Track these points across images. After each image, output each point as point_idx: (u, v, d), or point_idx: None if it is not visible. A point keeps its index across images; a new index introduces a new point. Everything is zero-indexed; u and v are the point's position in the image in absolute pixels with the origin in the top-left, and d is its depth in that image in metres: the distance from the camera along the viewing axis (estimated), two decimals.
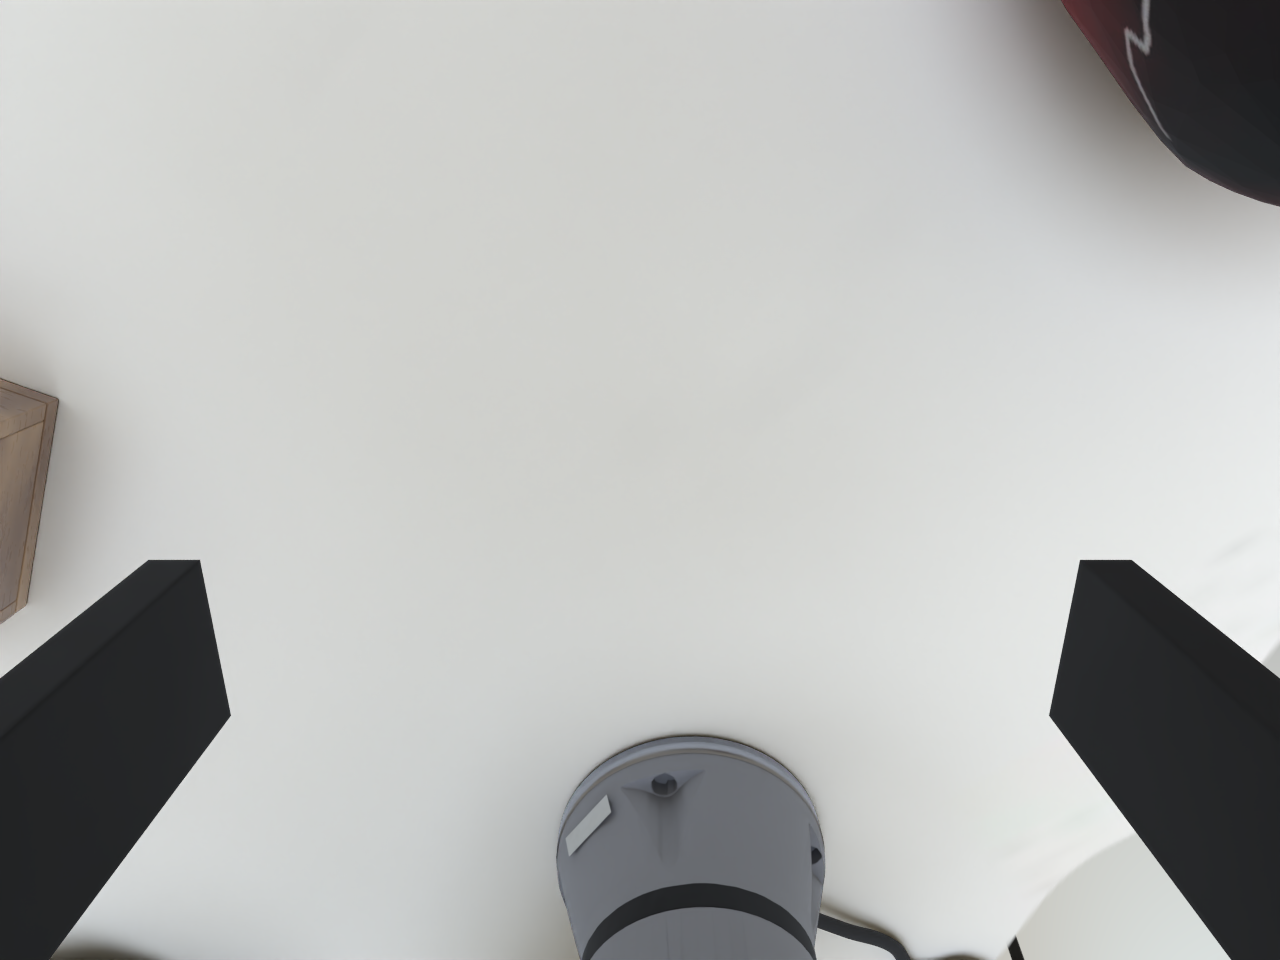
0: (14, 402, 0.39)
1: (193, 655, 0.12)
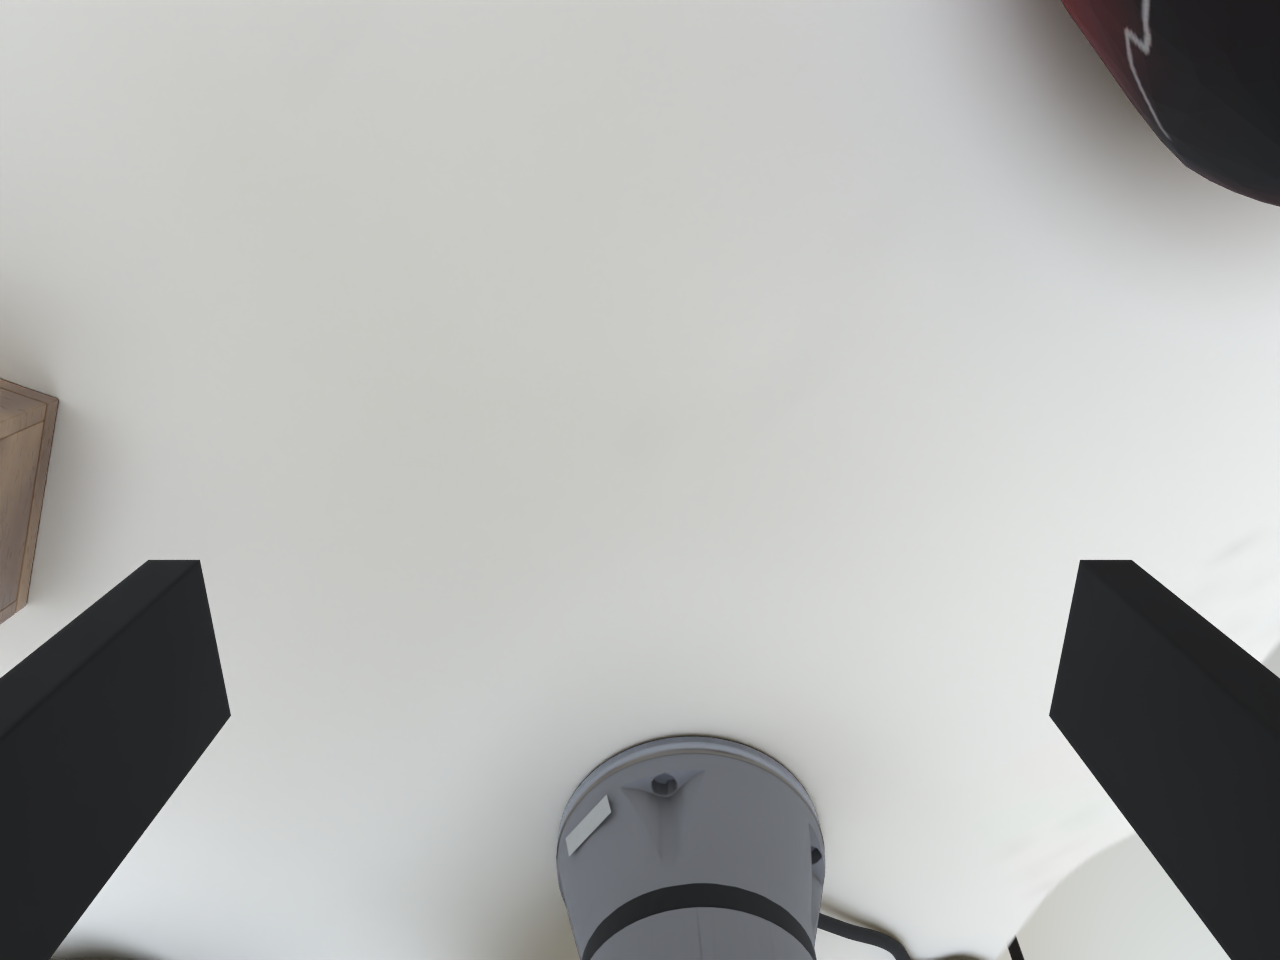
0: (14, 402, 0.39)
1: (193, 655, 0.12)
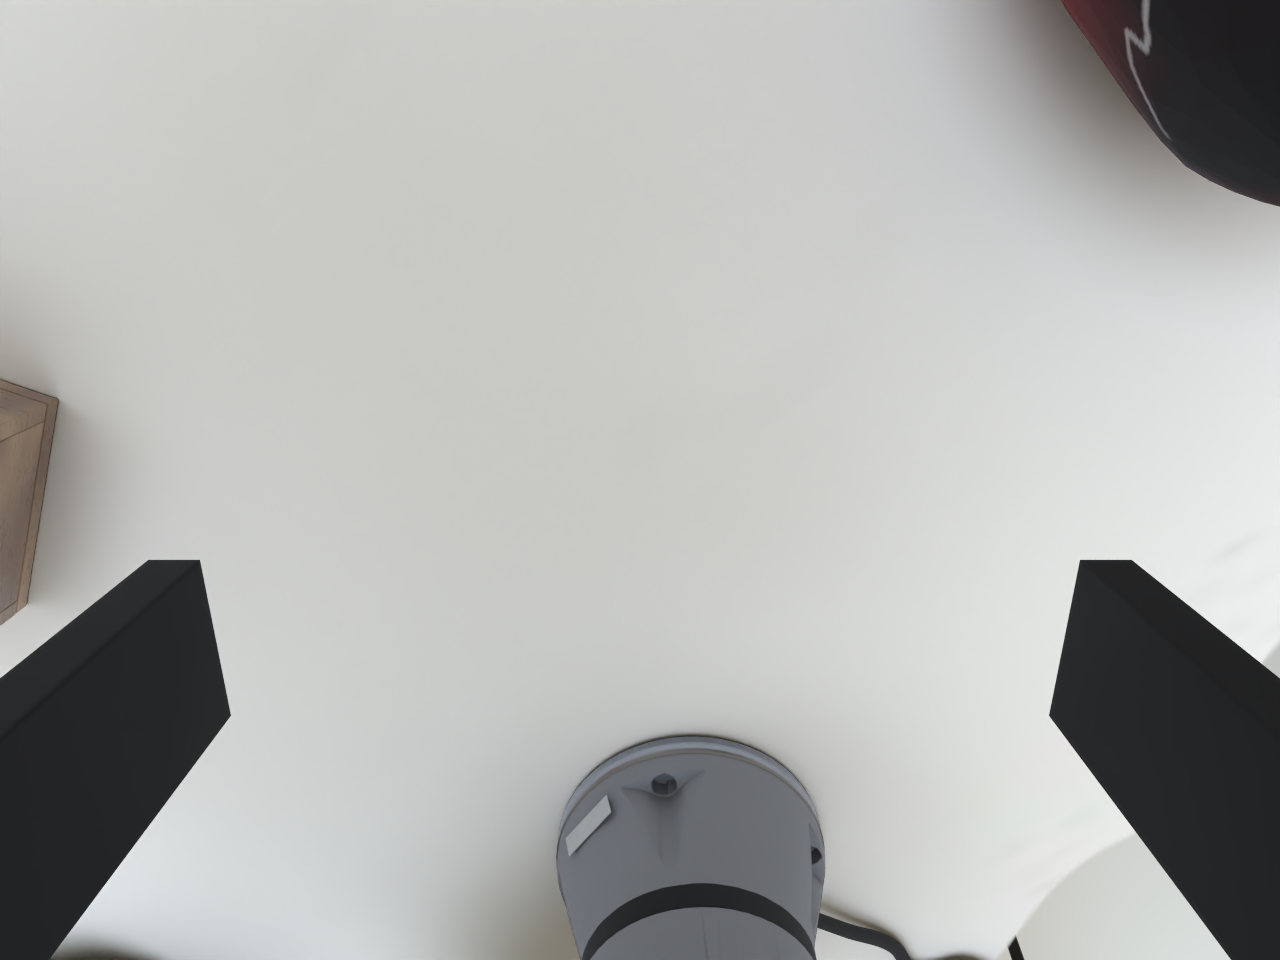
0: (15, 403, 0.39)
1: (193, 655, 0.12)
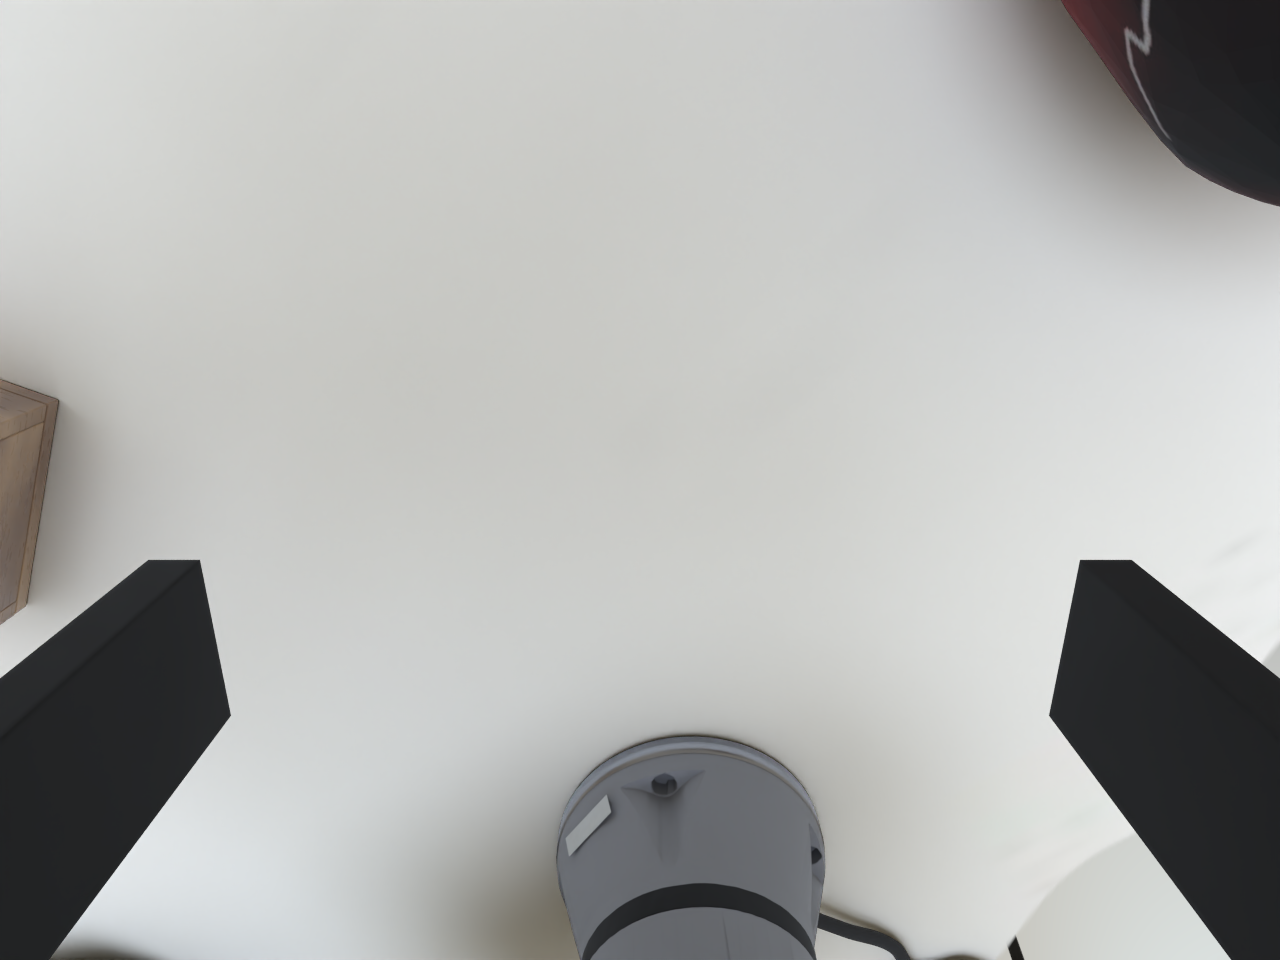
0: (14, 403, 0.39)
1: (193, 655, 0.12)
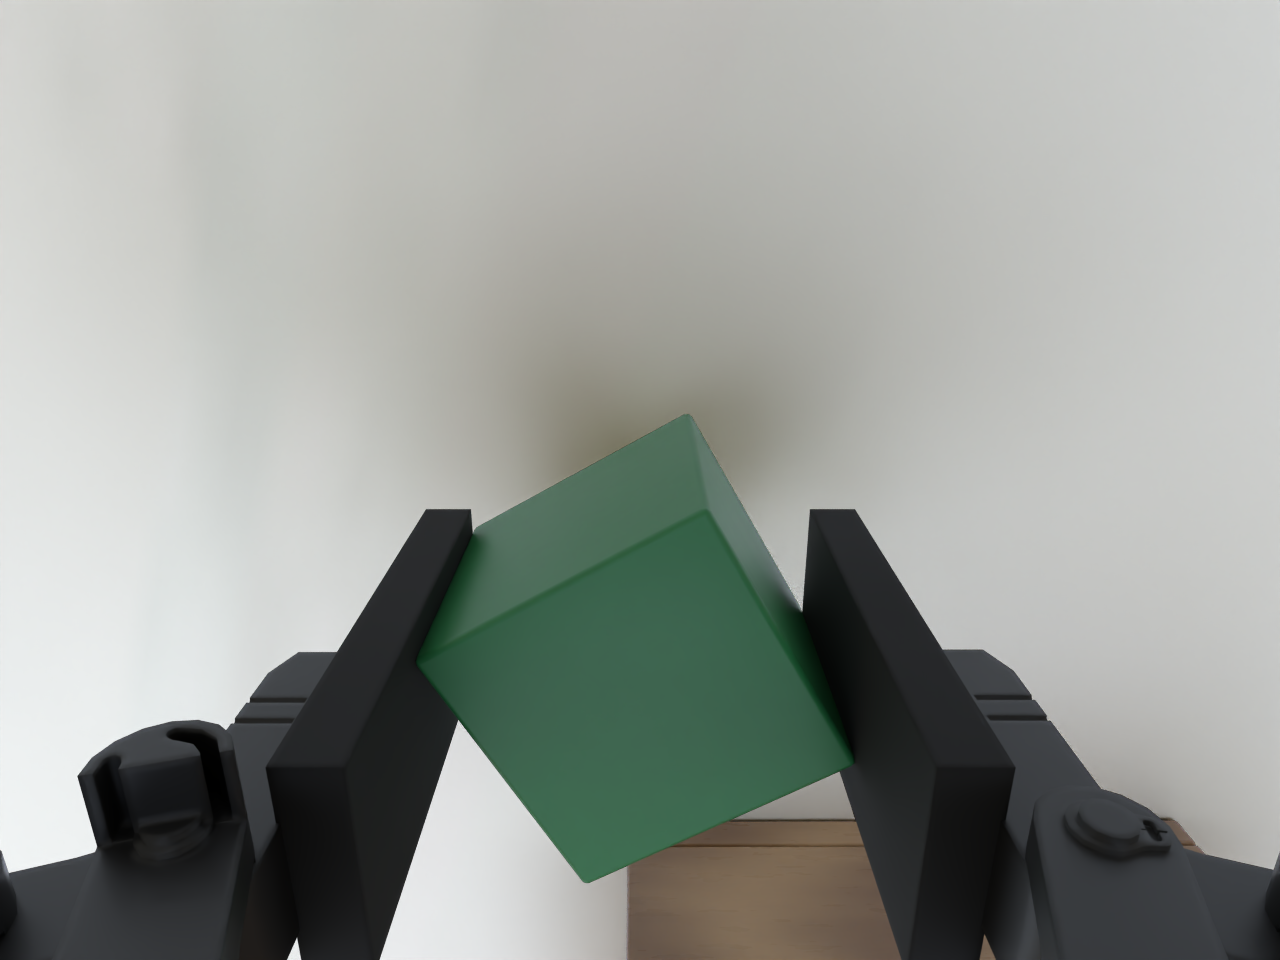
0: None
1: None
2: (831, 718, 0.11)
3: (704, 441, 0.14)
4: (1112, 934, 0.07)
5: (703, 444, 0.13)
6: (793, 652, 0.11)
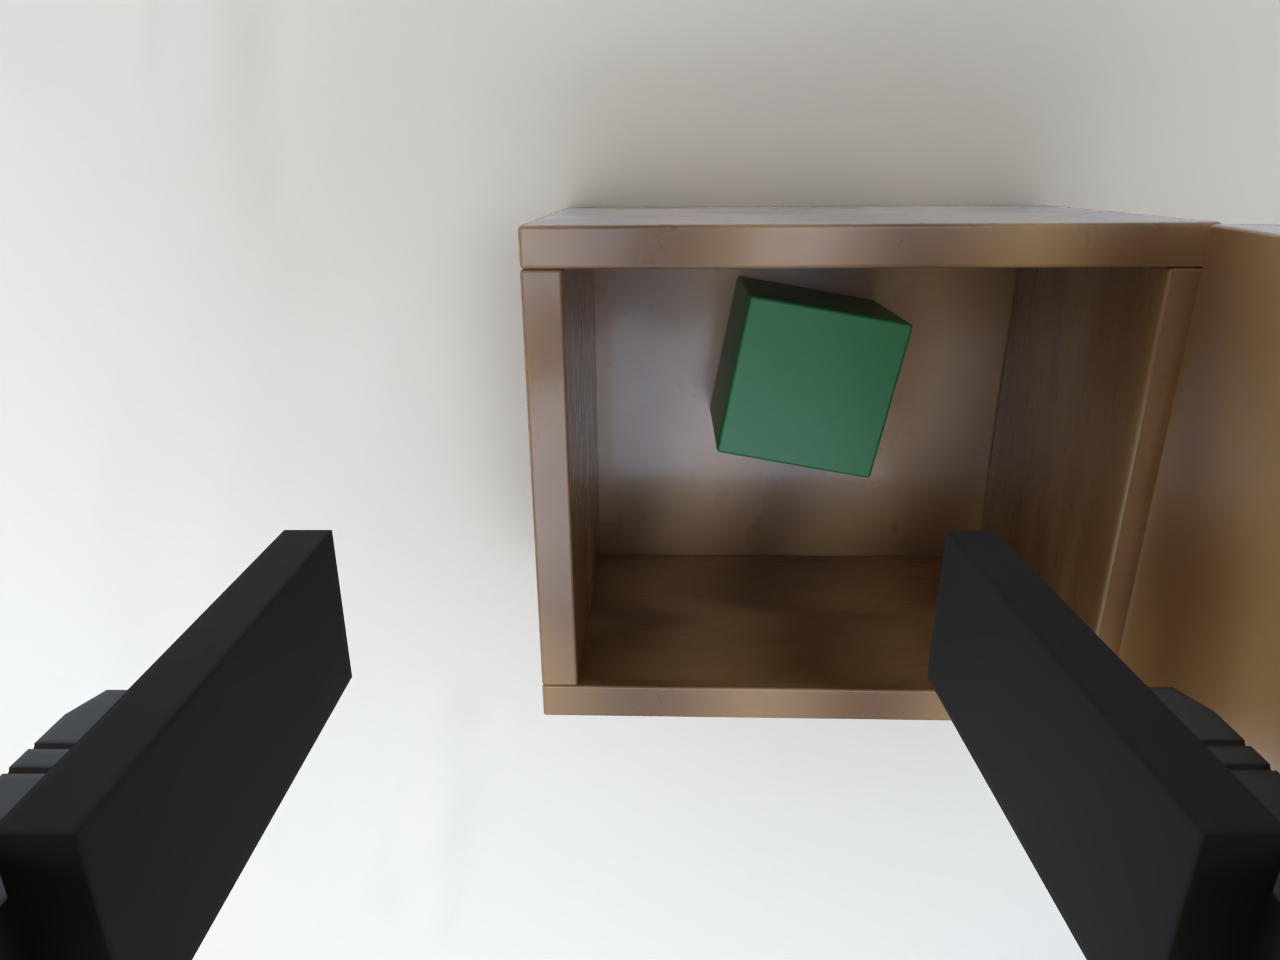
0: (1040, 207, 0.23)
1: (327, 617, 0.13)
2: None
3: None
4: None
5: None
6: None
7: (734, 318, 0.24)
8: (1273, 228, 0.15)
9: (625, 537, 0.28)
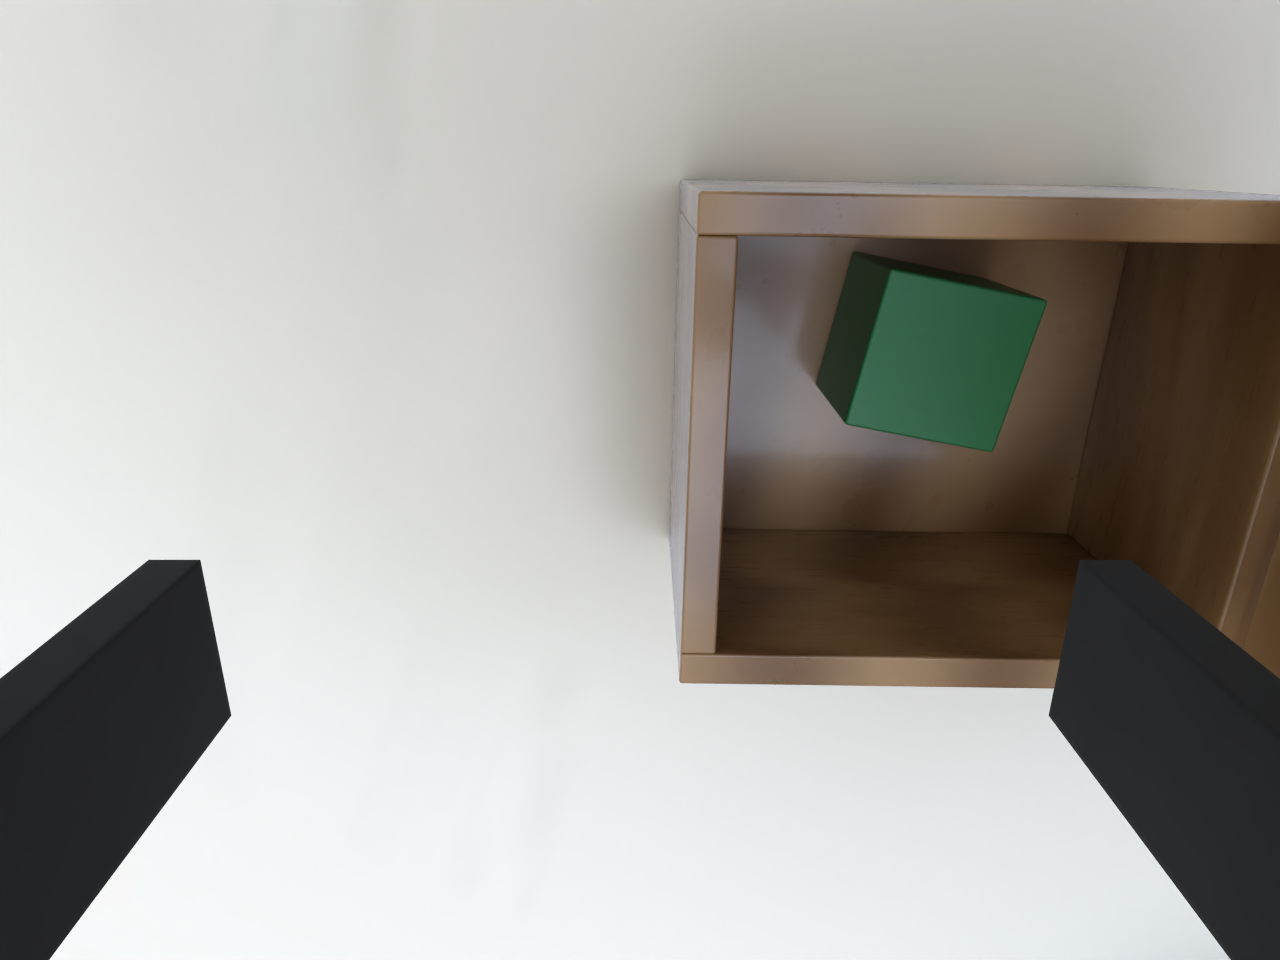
0: None
1: (193, 655, 0.12)
2: None
3: None
4: None
5: None
6: None
7: (856, 292, 0.24)
8: None
9: (722, 511, 0.28)
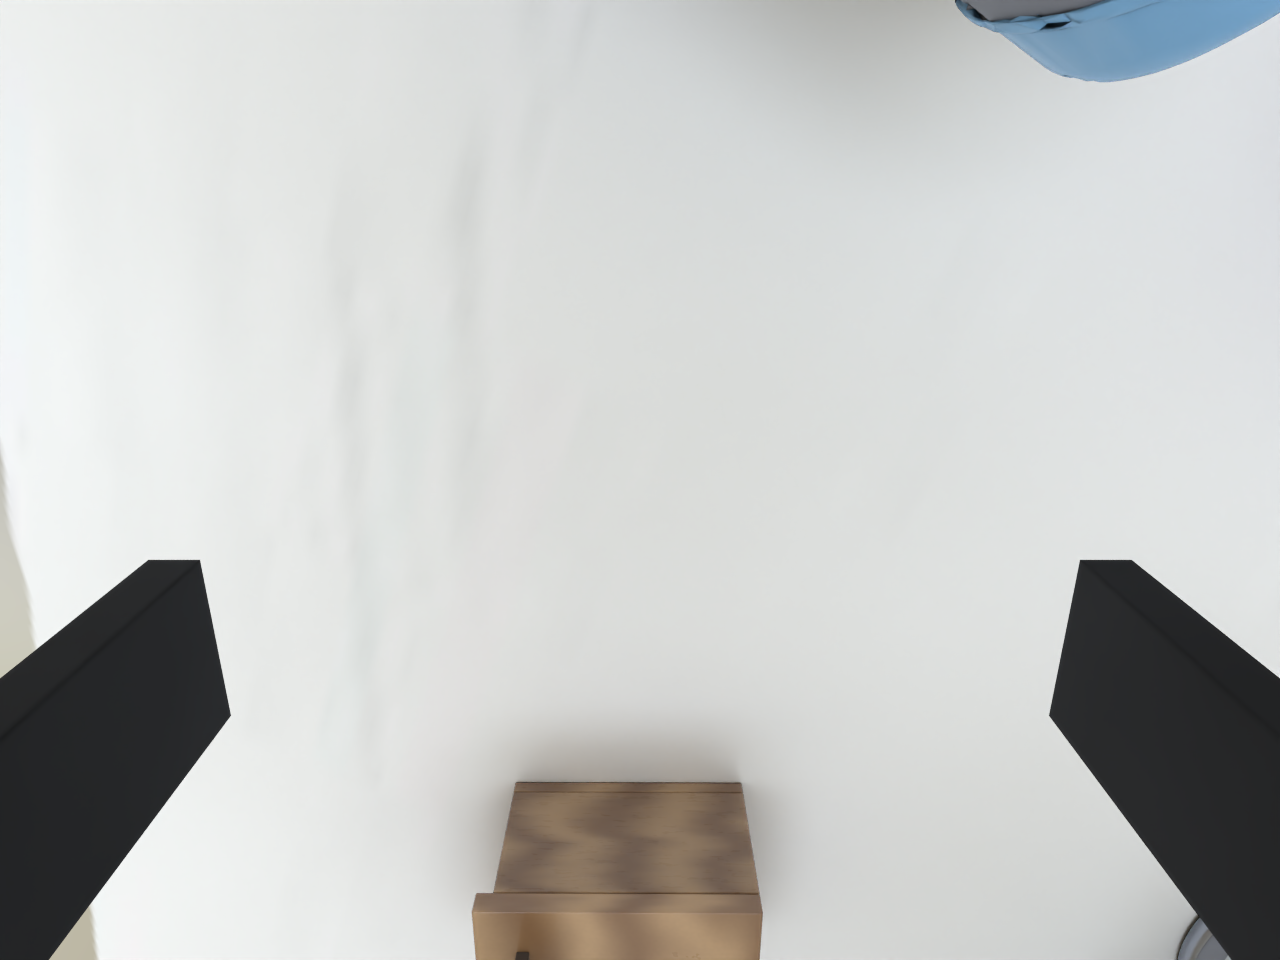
0: (730, 803, 0.52)
1: (193, 655, 0.12)
2: None
3: None
4: None
5: None
6: None
7: None
8: (737, 902, 0.45)
9: None
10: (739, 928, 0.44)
